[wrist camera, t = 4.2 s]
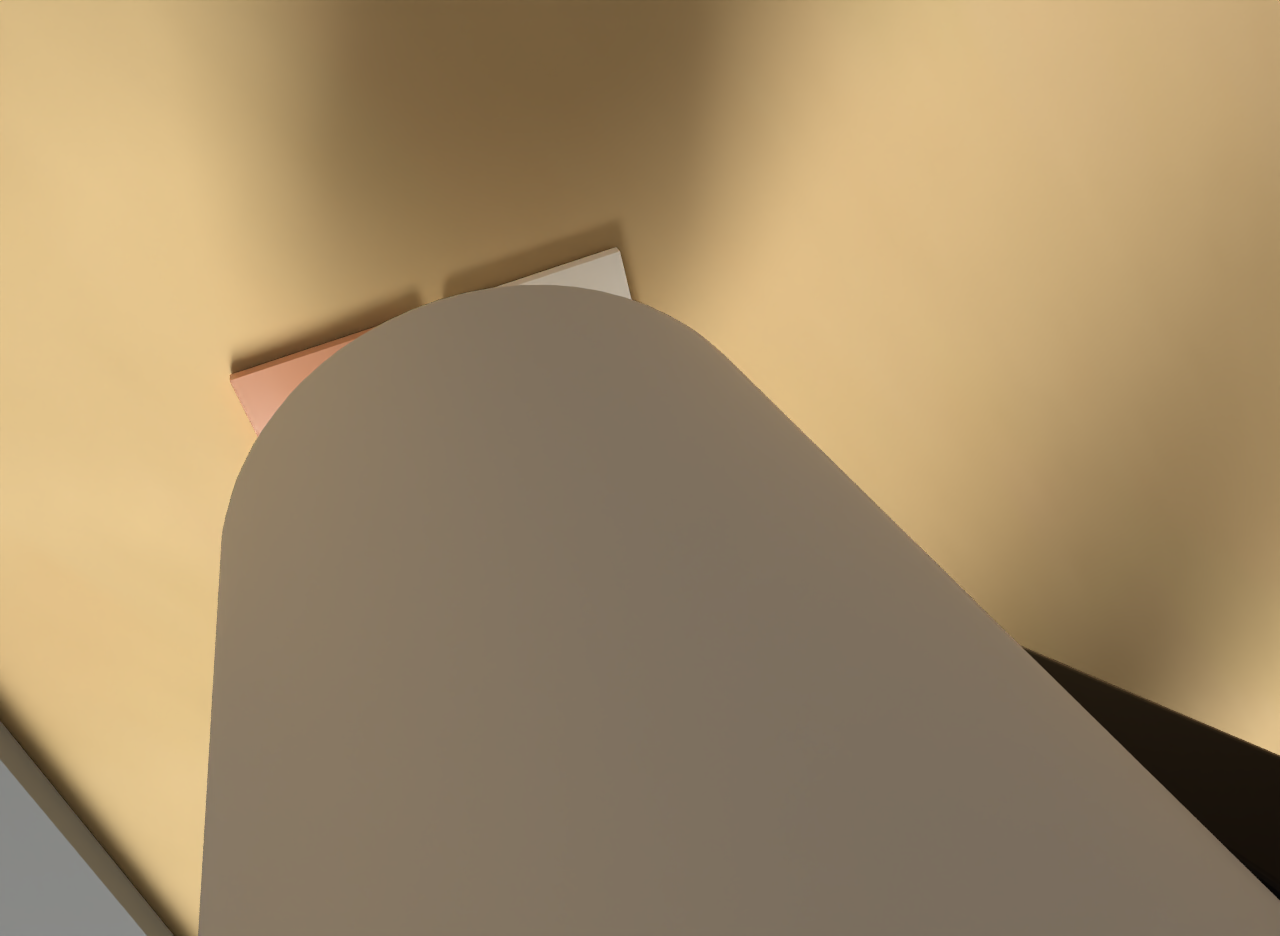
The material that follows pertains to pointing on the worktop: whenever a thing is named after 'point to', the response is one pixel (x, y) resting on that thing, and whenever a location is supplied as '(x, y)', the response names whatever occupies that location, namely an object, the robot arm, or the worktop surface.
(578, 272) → the two-tone square tiles
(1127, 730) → the robot arm
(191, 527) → the worktop surface
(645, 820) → the beverage can
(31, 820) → the slate mat
